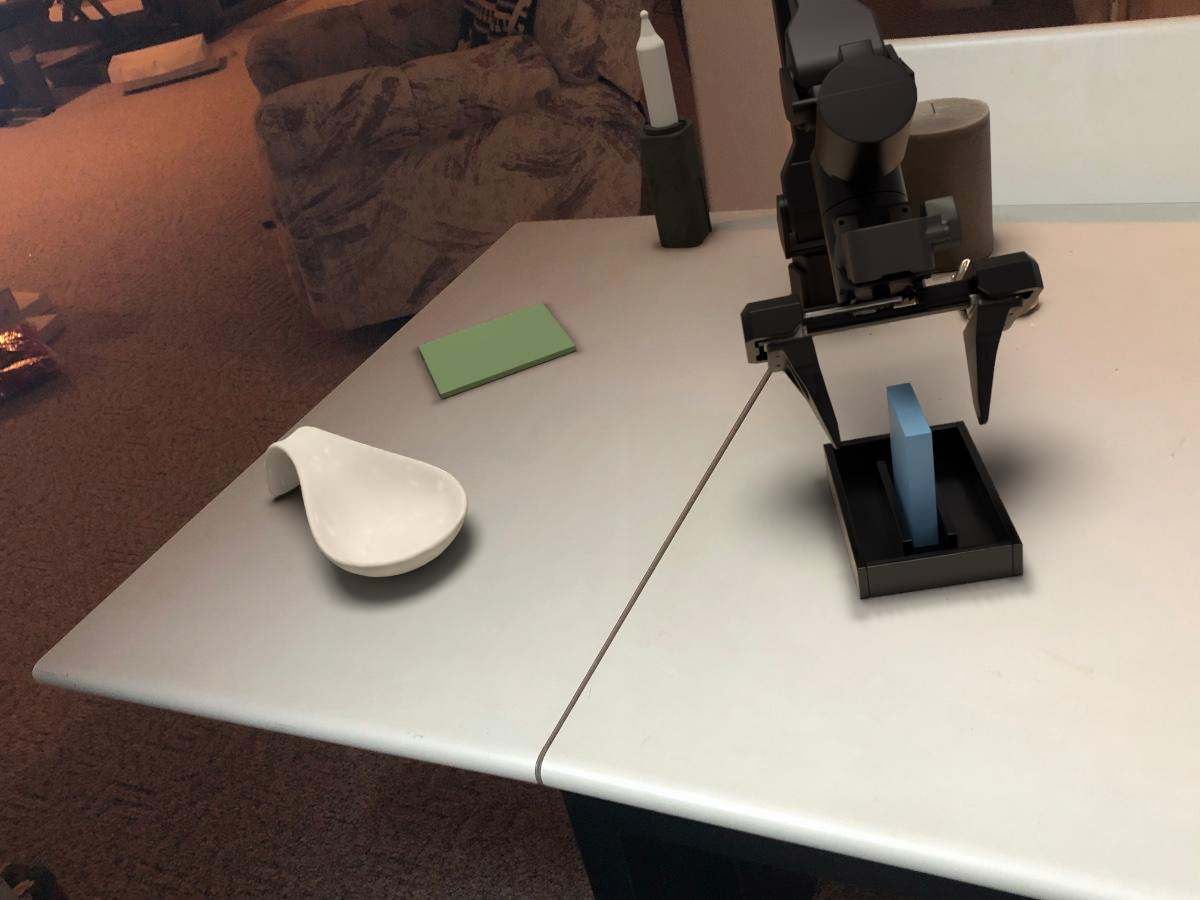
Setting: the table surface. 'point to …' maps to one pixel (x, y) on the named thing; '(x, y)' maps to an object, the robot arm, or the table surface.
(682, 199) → the candle
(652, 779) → the table surface
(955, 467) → the dish rack
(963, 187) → the pillar candle
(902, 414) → the blue rectangular block
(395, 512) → the spoon rest
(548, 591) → the table surface
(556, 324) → the mat
